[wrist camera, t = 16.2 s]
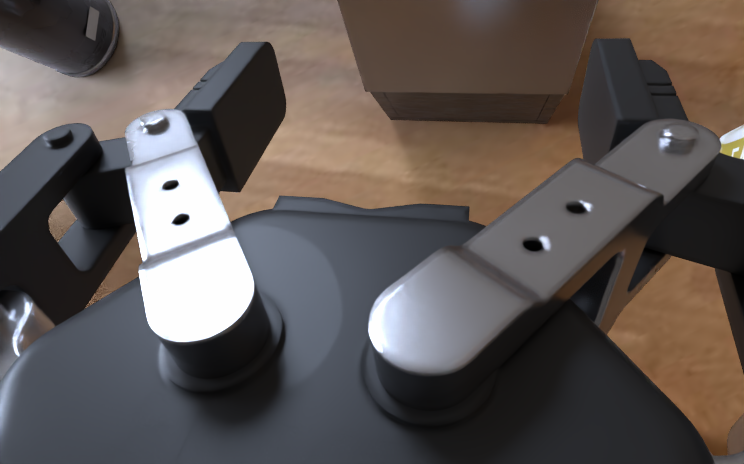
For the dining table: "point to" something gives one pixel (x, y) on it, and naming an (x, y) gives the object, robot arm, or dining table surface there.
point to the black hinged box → (469, 106)
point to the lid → (467, 44)
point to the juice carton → (733, 143)
